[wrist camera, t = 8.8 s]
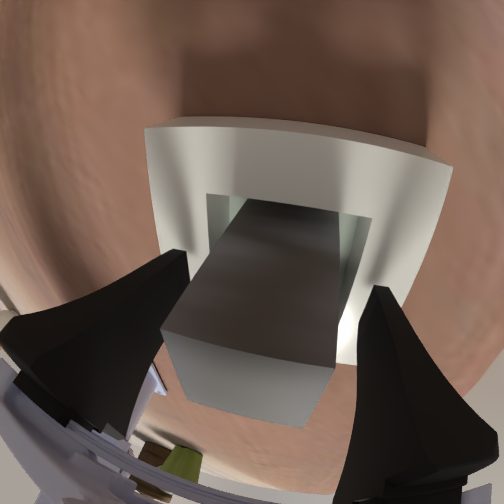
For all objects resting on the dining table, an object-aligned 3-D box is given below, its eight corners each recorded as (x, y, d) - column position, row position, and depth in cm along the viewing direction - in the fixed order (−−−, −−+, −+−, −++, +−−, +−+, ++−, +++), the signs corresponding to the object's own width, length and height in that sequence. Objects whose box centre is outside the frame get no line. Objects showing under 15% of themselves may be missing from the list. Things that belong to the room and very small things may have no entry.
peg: (248, 265, 15) (187, 400, 8) (250, 194, 12) (159, 328, 6) (324, 278, 14) (303, 428, 7) (338, 207, 12) (335, 368, 5)
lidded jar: (22, 330, 44) (1, 357, 37) (0, 295, 38) (-25, 323, 31) (44, 345, 42) (21, 377, 34) (18, 308, 36) (-10, 341, 28)
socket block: (197, 294, 18) (177, 327, 15) (181, 116, 11) (144, 128, 9) (366, 326, 15) (367, 366, 13) (426, 147, 9) (453, 167, 7)
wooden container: (195, 463, 68) (174, 515, 50) (162, 452, 74) (140, 499, 56) (171, 449, 61) (145, 507, 44) (137, 436, 67) (111, 487, 49)
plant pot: (172, 447, 57) (157, 479, 49) (163, 436, 51) (146, 473, 42) (213, 461, 56) (200, 495, 47) (211, 454, 49) (195, 493, 40)
